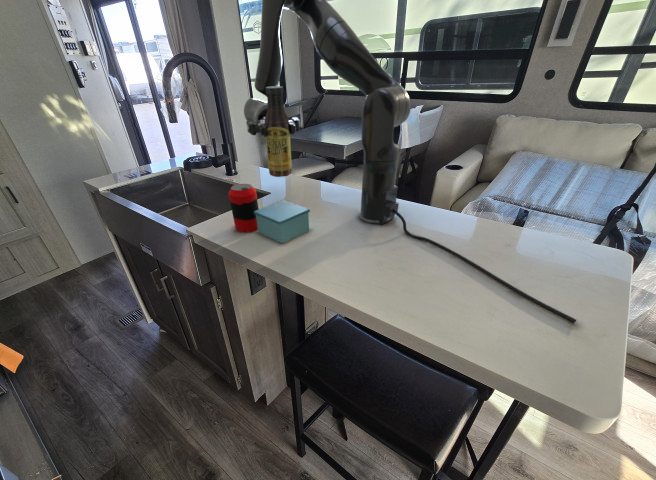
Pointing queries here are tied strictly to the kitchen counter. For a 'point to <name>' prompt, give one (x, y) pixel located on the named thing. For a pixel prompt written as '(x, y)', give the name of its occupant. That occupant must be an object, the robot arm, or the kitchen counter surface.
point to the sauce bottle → (277, 134)
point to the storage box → (282, 221)
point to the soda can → (244, 207)
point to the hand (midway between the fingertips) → (279, 130)
